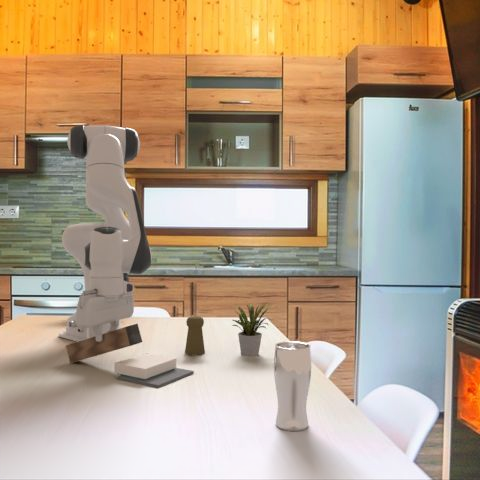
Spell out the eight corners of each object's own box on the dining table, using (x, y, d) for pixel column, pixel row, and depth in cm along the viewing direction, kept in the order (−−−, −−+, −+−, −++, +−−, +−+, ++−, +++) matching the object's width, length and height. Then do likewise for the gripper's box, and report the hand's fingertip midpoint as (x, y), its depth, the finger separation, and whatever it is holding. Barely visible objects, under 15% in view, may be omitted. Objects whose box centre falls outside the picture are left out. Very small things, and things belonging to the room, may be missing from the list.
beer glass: (270, 418, 95) (271, 341, 95) (306, 417, 95) (307, 341, 95) (276, 432, 88) (277, 349, 88) (314, 432, 88) (315, 349, 88)
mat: (116, 378, 120) (116, 376, 120) (154, 366, 132) (154, 363, 132) (158, 387, 113) (158, 385, 113) (193, 373, 125) (193, 370, 125)
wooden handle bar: (70, 363, 133) (65, 345, 134) (79, 360, 136) (74, 342, 137) (134, 344, 125) (129, 325, 126) (142, 341, 128) (137, 323, 129)
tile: (114, 363, 121) (145, 369, 116) (146, 353, 132) (176, 358, 127) (114, 374, 121) (145, 380, 116) (146, 363, 132) (176, 369, 127)
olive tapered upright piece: (201, 355, 143) (202, 318, 143) (182, 354, 145) (182, 317, 144) (207, 351, 149) (207, 315, 149) (188, 350, 150) (188, 314, 150)
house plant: (283, 351, 150) (283, 298, 150) (271, 362, 137) (271, 304, 137) (239, 347, 155) (239, 295, 154) (223, 357, 142) (224, 301, 141)
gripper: (90, 292, 120) (89, 348, 120) (138, 284, 139) (137, 333, 139) (69, 290, 122) (69, 345, 122) (119, 283, 141) (119, 331, 141)
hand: (106, 339), depth 131 cm, fingers closed on wooden handle bar, 3 cm apart
